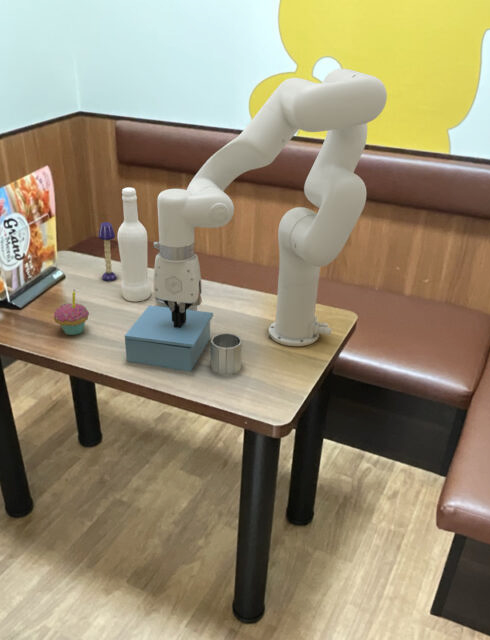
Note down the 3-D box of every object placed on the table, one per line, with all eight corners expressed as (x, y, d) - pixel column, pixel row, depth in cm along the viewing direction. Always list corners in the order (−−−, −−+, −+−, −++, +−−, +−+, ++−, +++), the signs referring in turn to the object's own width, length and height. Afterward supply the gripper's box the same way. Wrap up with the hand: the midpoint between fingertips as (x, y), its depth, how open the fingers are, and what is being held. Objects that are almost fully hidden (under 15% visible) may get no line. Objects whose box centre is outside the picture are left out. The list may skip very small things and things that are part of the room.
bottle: (149, 302, 167) (143, 193, 150) (120, 302, 167) (110, 193, 150) (152, 290, 174) (146, 184, 157) (124, 289, 174) (115, 184, 157)
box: (210, 341, 150) (210, 316, 146) (190, 374, 137) (190, 348, 134) (150, 332, 153) (149, 308, 150) (126, 364, 141) (124, 338, 137)
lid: (213, 315, 146) (213, 312, 145) (193, 347, 133) (193, 344, 133) (149, 308, 150) (149, 305, 149) (124, 338, 137) (124, 335, 137)
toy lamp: (111, 273, 183) (106, 219, 174) (121, 277, 181) (117, 223, 171) (99, 278, 180) (93, 224, 171) (110, 283, 178) (104, 227, 168)
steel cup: (243, 363, 141) (244, 335, 137) (236, 379, 136) (237, 350, 132) (215, 359, 143) (215, 331, 139) (207, 374, 138) (207, 345, 133)
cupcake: (97, 326, 156) (91, 284, 149) (77, 342, 149) (71, 298, 143) (69, 320, 159) (63, 277, 152) (49, 334, 152) (41, 291, 146)
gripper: (138, 252, 129) (143, 328, 139) (205, 260, 125) (205, 337, 136) (150, 239, 135) (154, 313, 145) (215, 247, 131) (214, 321, 142)
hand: (179, 324), depth 140 cm, fingers closed
